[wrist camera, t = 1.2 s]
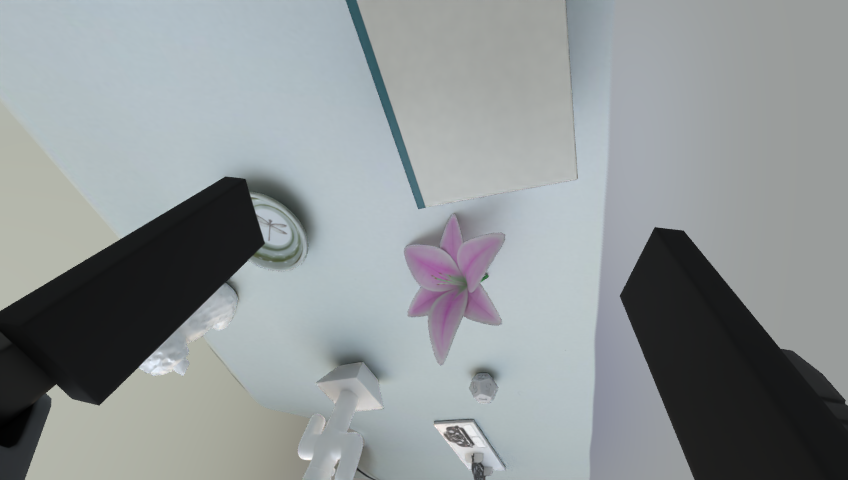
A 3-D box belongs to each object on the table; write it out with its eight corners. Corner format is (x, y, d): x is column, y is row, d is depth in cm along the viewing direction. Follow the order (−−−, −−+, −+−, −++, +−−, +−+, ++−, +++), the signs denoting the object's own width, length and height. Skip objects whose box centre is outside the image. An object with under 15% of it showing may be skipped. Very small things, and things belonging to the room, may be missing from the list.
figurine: (320, 361, 49) (261, 476, 37) (372, 352, 45) (325, 476, 33) (347, 390, 52) (300, 504, 40) (397, 384, 49) (362, 508, 36)
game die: (470, 367, 43) (468, 388, 41) (499, 371, 42) (499, 393, 40) (469, 383, 45) (467, 404, 43) (497, 387, 44) (497, 409, 42)
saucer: (241, 249, 39) (227, 261, 37) (222, 173, 33) (205, 183, 31) (319, 267, 38) (309, 281, 36) (314, 192, 32) (301, 204, 30)
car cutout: (505, 467, 57) (505, 498, 53) (469, 467, 59) (467, 497, 56) (473, 419, 50) (471, 451, 46) (434, 421, 53) (429, 452, 49)
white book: (361, -26, 17) (333, -34, 14) (545, -109, 14) (556, -140, 11) (428, 184, 23) (418, 209, 20) (567, 156, 20) (578, 180, 17)
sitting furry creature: (172, 277, 45) (80, 351, 35) (205, 254, 41) (112, 331, 31) (227, 323, 48) (157, 401, 38) (262, 306, 44) (195, 388, 35)
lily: (527, 197, 30) (477, 218, 22) (549, 321, 31) (509, 378, 24) (423, 215, 37) (359, 235, 30) (445, 314, 39) (390, 356, 31)
